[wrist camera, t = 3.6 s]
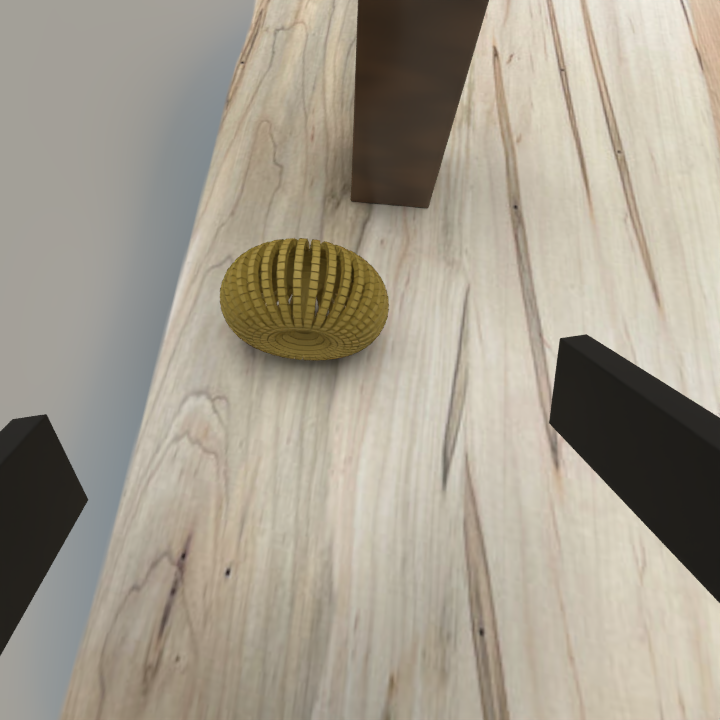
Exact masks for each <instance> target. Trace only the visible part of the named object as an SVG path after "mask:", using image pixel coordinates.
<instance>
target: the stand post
mask: <svg viewBox="0 0 720 720" xmlns="http://www.w3.org/2000/svg"><path fill="white" fill-rule="evenodd" d="M488 2H489V0H358V16H357V44H356V72H355V100H354V127H353V155H352V183H351V201H357V202H368V203H379V204H390V205H401V206H412V207H423V208H428V207H429V203H430V200H431V196H432V193H433V190H434V186H435V183H436V179H437V176H438V173H439V169H440V166H441V162H442V159H443V156H444V152H445V149H446V145H447V142H448V138H449V135H450V132H451V128H452V125H453V121H454V118H455V115H456V111H457V108H458V104H459V101H460V98H461V94H462V91H463V87H464V84H465V80H466V77H467V74H468V70H469V67H470V63H471V60H472V57H473V53H474V50H475V46H476V43H477V40H478V36H479V33H480V29H481V26H482V22H483V19H484V16H485V12H486V9H487V5H488Z"/></svg>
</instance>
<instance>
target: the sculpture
mask: <svg viewBox="0 0 720 720" xmlns="http://www.w3.org/2000/svg"><path fill="white" fill-rule="evenodd" d="M353 280H354V281H353ZM247 282H248V283H247ZM362 288H363V289H362ZM220 290H221V291H220V304H221V311H223V312H222V313H223V315H224V318H225V319H226V320H225V321H226V322H227V324H228V325H229V327H230V328H231V329H232V330H233V332H234V333H235V334H236V335H237V336H239V338H240V339H242V340H243V341H244V342H246V343H247V344H250V345H251V346H252V347H254V348H256V349H259V350H261V351H263V352H266V353H270V354H272V355H277V356H280V357H281V356H282V357H287V358H290V359H293V358H295V359H298V360H302V357H303V359H304V360H327V359H329V360H330V359H336V358H342V357H346V356H349V355H352V354H354V353H357V352H359V351H361V350H363V349H364V348H366V347H367V346H368V345H370V344H371V343H372V342H373V341H374V340H375V339H376V338H377V337H378V336H379V335H380V332H381V331H382V329H383V328H384V324H385V323H386V320H387V317H388V310H389V309H388V307H389V303H388V296H387V291H386V289H385V285H384V283H383V281H382V279H381V277H380V276H379V275H378V273H377V272H376V271H375V269H373V267H372V266H371V265H370V264H369V263H368V262H367V261H366V260H364V259H363V258H362V257H360V256H358V255H356V254H355V253H354V252H352V251H349V250H347V249H345V248H343V247H341V246H338V245H333V244H332V243H329V242H325V241H324V242H322V243H321V244H320V240H314V239H312V242H311V245H310V249H309V242H308V240H307V239H302V238H300V239H299V240H297V239H295V238H292V239H285V240H283V239H282V240H274V241H272V242H266V243H265V244H264V243H263V244H261V245H259V246H256V247H254V248H251V249H249V250H248V251H247V252H246V253H243V254H242V255H241V256H240V257H238V258H237V259H236V260H235V262H234V263H232V265H231V266H230V268H228V270H227V272H226V274H225V276H224V279H223V280H222V285H221V288H220ZM241 295H242V296H241ZM291 295H293V296H292V297H291ZM290 297H291V300H290V304H289V302H288V300H289V298H290ZM316 297H317V301H318V307H319V309H318V311H317V314H316V316H315V302H316V299H315V298H316ZM361 297H362V298H361ZM332 299H333V300H334V301H332ZM278 300H279V305H276V304H277V302H278ZM263 301H264V302H263ZM333 302H334V303H333ZM266 303H267V304H266ZM264 304H266V305H267V306H266V305H264ZM343 304H345V306H344V305H343ZM289 305H290V306H289ZM254 306H255V307H254ZM266 307H267V308H266ZM345 307H346V308H345ZM327 308H328V309H327ZM328 310H329V315H327V316H326V314H327V313H326V312H328ZM339 313H340V314H339ZM293 316H294V318H293Z"/></svg>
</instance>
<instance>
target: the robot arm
mask: <svg viewBox="0 0 720 720" xmlns="http://www.w3.org/2000/svg"><path fill="white" fill-rule="evenodd" d="M549 423H550V424H551V426H552V427H553V428H554V429H555V430H556V431H557V432H558V433H559V434H560V435H561V436H562V437H563V438H564V439H565V440H566V441H567V442H568V443H569V445H570V446H571V447H572V448H573V449H574V450H575V451H576V452H577V453H578V454H579V455H580V456H581V457H582V458H583V459H584V460H585V461H586V462H587V464H588V465H589V466H590V467H591V468H592V469H593V470H594V471H595V472H596V473H597V474H598V475H599V476H600V477H601V478H602V479H603V480H604V481H605V483H606V484H607V485H608V486H609V487H610V488H611V489H612V490H613V491H614V492H615V493H616V494H617V495H618V496H619V497H620V498H621V499H622V500H623V502H624V503H625V504H626V505H627V506H628V507H629V508H630V509H631V510H632V511H633V512H634V513H635V514H636V515H637V516H638V517H639V518H640V519H641V521H642V522H643V523H644V524H645V525H646V526H647V527H648V528H649V529H650V530H651V531H652V532H653V533H654V534H655V535H656V536H657V537H658V538H659V540H660V541H661V542H662V543H663V544H664V545H665V546H666V547H667V548H668V549H669V550H670V551H671V552H672V553H673V554H674V555H675V556H676V557H677V558H678V560H679V561H680V562H681V563H682V564H683V565H684V566H685V567H686V568H687V569H688V570H689V571H690V572H691V573H692V574H693V575H694V576H695V577H696V579H697V580H698V581H699V582H700V583H701V584H702V585H703V586H704V587H705V588H706V589H707V590H708V591H709V592H710V593H711V594H712V595H713V596H714V598H715V599H716V600H717V601H718V602H719V603H720V418H719V417H718V416H716V415H714V414H713V413H711V412H710V411H708V410H706V409H705V408H703V407H702V406H700V405H698V404H697V403H695V402H694V401H692V400H690V399H689V398H687V397H686V396H684V395H682V394H681V393H679V392H678V391H676V390H674V389H673V388H671V387H670V386H668V385H666V384H665V383H663V382H662V381H660V380H659V379H657V378H655V377H654V376H652V375H651V374H649V373H647V372H646V371H644V370H643V369H641V368H639V367H638V366H636V365H635V364H633V363H631V362H630V361H628V360H627V359H625V358H623V357H622V356H620V355H619V354H617V353H615V352H614V351H612V350H611V349H609V348H607V347H606V346H604V345H603V344H601V343H600V342H598V341H596V340H595V339H593V338H592V337H590V336H588V335H587V334H586V335H580V336H573V337H566V338H560V342H559V350H558V358H557V366H556V373H555V381H554V389H553V397H552V405H551V413H550V420H549ZM87 501H88V498H87V496H86V494H85V492H84V491H83V488H82V486H81V484H80V482H79V480H78V478H77V476H76V474H75V472H74V470H73V468H72V466H71V464H70V462H69V460H68V458H67V456H66V453H65V451H64V449H63V447H62V445H61V443H60V441H59V439H58V437H57V435H56V433H55V431H54V429H53V427H52V425H51V423H50V421H49V419H48V417H47V415H46V414H45V415H38V416H31V417H25V418H18V419H13V420H12V421H10V423H8V425H7V426H5V428H3V429H2V431H0V655H1V654H2V652H3V650H4V648H5V646H6V645H7V643H8V641H9V639H10V637H11V636H12V634H13V632H14V630H15V629H16V627H17V625H18V623H19V622H20V620H21V618H22V616H23V614H24V613H25V611H26V609H27V607H28V605H29V604H30V602H31V600H32V598H33V597H34V595H35V593H36V591H37V590H38V588H39V586H40V584H41V583H42V581H43V579H44V577H45V576H46V574H47V572H48V570H49V568H50V567H51V565H52V563H53V561H54V559H55V558H56V556H57V554H58V552H59V551H60V549H61V547H62V545H63V544H64V542H65V540H66V538H67V536H68V535H69V533H70V531H71V529H72V528H73V526H74V524H75V522H76V521H77V519H78V517H79V515H80V513H81V512H82V510H83V508H84V506H85V505H86V503H87Z"/></svg>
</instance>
